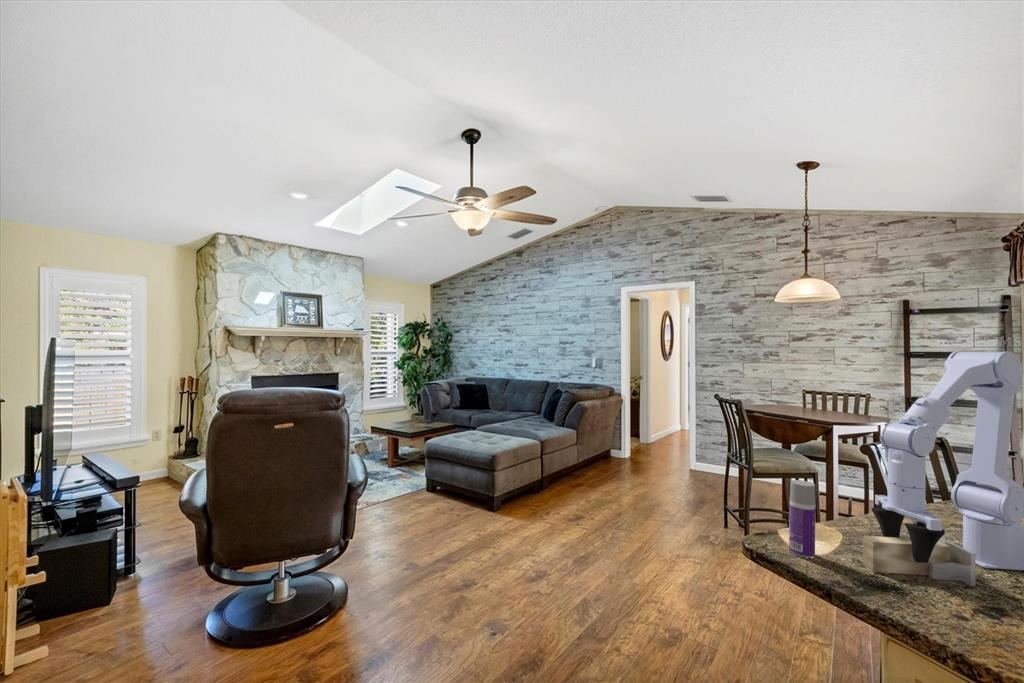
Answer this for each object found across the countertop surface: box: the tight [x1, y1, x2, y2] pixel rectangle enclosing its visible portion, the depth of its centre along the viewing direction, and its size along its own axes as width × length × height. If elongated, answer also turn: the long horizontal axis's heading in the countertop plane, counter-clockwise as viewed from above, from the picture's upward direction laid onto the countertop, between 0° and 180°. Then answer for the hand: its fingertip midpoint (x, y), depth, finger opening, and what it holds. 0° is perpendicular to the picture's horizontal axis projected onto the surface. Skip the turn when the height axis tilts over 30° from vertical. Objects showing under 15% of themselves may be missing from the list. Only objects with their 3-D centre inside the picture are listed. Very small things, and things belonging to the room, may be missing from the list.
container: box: [788, 479, 817, 559], centre depth 97 cm, size 5×5×15 cm
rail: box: [862, 535, 950, 576], centre depth 90 cm, size 14×3×6 cm, turn 85°
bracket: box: [929, 537, 977, 587], centre depth 90 cm, size 6×10×6 cm, turn 175°
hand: (905, 553), depth 90 cm, fingers open, 7 cm apart
